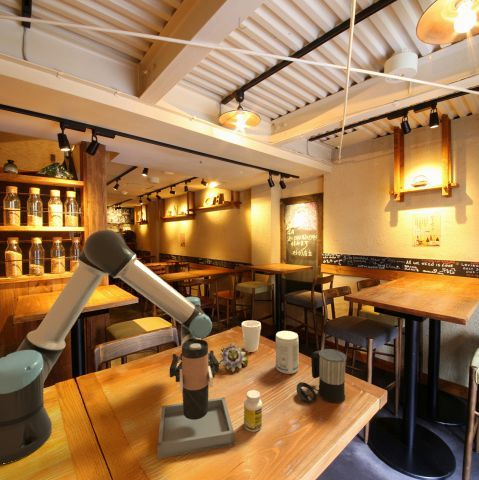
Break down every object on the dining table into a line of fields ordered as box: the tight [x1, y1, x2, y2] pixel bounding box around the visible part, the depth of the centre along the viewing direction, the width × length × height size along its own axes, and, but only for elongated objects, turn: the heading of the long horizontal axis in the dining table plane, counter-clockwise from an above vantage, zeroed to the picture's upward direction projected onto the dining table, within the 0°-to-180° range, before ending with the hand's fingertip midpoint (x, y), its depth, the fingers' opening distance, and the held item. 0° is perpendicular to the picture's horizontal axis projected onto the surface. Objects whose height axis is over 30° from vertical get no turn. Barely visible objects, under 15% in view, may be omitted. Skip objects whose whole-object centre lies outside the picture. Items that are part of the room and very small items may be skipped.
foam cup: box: [241, 320, 262, 352], centre depth 132 cm, size 10×9×13 cm
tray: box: [157, 397, 235, 460], centre depth 79 cm, size 20×16×4 cm
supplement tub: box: [275, 330, 300, 375], centre depth 114 cm, size 10×10×15 cm
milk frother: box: [296, 348, 347, 404], centre depth 95 cm, size 14×16×15 cm
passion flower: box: [218, 342, 249, 373], centre depth 116 cm, size 11×11×12 cm
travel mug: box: [181, 339, 210, 420], centre depth 79 cm, size 8×8×20 cm
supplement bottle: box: [243, 389, 263, 433], centre depth 81 cm, size 5×5×10 cm
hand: (196, 384), depth 74 cm, fingers closed on travel mug, 7 cm apart
